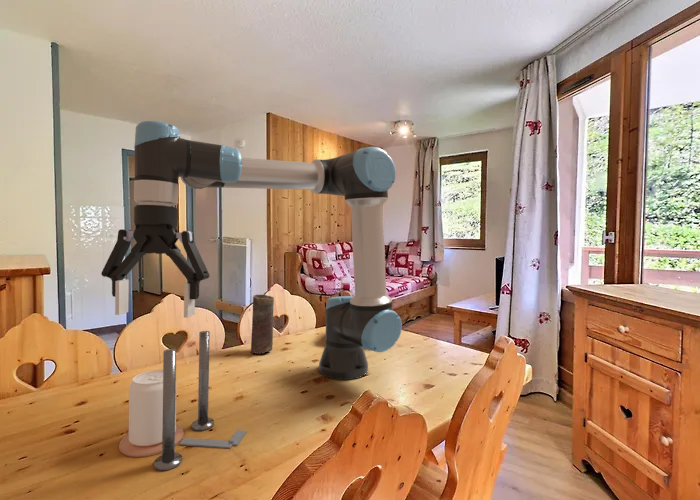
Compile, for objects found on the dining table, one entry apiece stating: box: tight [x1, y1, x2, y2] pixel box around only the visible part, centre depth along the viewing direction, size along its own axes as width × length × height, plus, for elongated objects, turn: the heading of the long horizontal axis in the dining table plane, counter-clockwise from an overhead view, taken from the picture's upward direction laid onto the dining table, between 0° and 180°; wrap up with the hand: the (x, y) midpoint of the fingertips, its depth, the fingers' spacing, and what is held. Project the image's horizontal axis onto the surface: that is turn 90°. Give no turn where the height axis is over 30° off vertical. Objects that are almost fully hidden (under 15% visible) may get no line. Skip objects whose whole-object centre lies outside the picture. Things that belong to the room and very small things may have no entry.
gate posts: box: [153, 330, 215, 472], centre depth 70 cm, size 4×17×20 cm, turn 176°
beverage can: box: [128, 369, 177, 446], centre depth 70 cm, size 8×8×12 cm
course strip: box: [178, 429, 247, 449], centre depth 72 cm, size 11×6×1 cm, turn 86°
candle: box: [250, 294, 275, 355], centre depth 127 cm, size 8×7×20 cm
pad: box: [118, 424, 184, 458], centre depth 71 cm, size 11×11×1 cm
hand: (155, 314), depth 70 cm, fingers open, 13 cm apart
